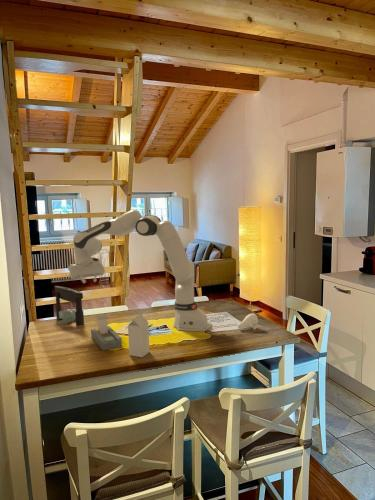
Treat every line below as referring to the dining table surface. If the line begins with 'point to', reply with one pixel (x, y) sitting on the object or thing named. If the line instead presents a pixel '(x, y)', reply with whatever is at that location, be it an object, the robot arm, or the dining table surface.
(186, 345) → the dining table surface
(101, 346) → the switch panel
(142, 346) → the milk carton
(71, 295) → the stool
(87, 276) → the robot arm
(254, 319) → the white rounded lump
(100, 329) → the switch knob
